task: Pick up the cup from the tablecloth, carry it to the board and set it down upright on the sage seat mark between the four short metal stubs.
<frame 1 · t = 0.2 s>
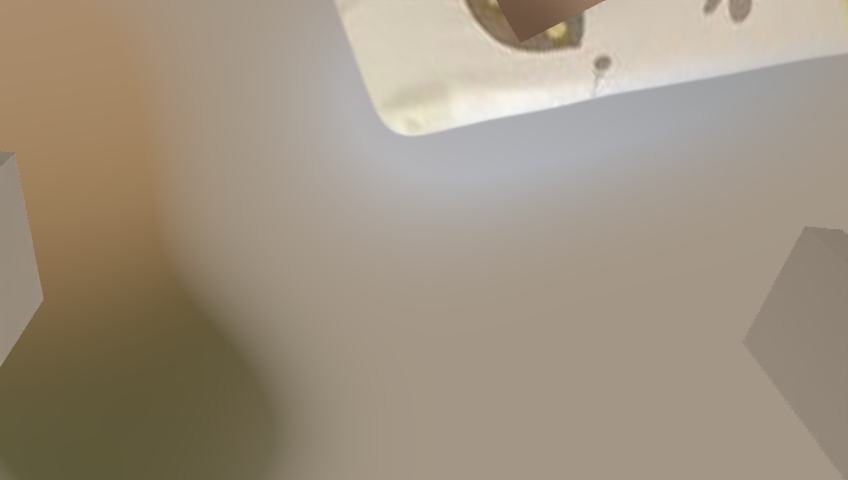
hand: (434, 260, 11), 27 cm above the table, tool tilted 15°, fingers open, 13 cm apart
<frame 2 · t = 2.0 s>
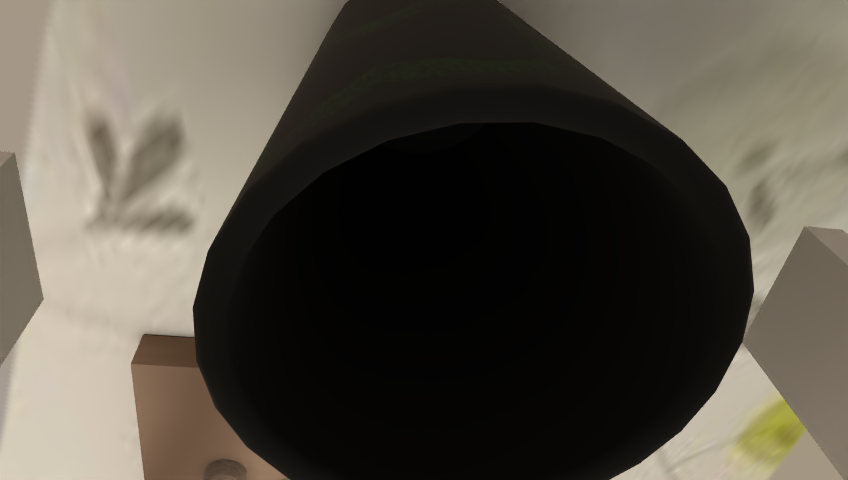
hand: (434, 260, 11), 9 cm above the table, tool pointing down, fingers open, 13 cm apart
cup: (419, 67, 19), on the table
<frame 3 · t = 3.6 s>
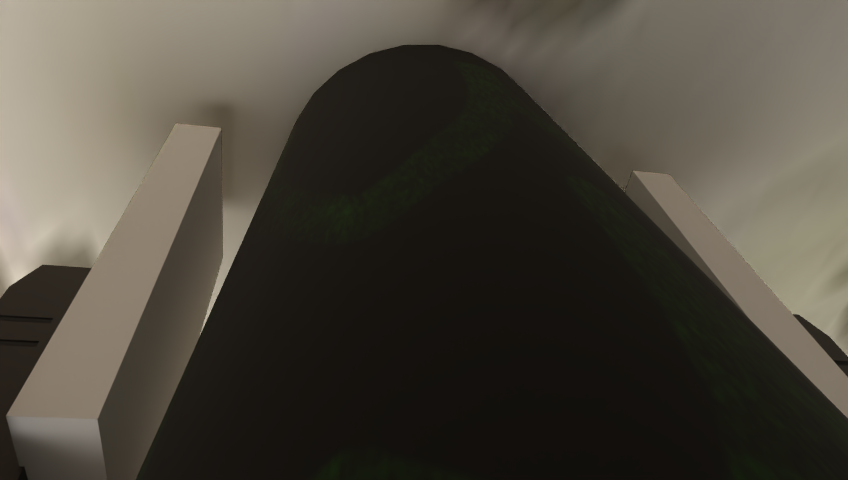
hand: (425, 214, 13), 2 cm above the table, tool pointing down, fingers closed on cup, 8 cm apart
cup: (418, 170, 14), on the table, touching gripper
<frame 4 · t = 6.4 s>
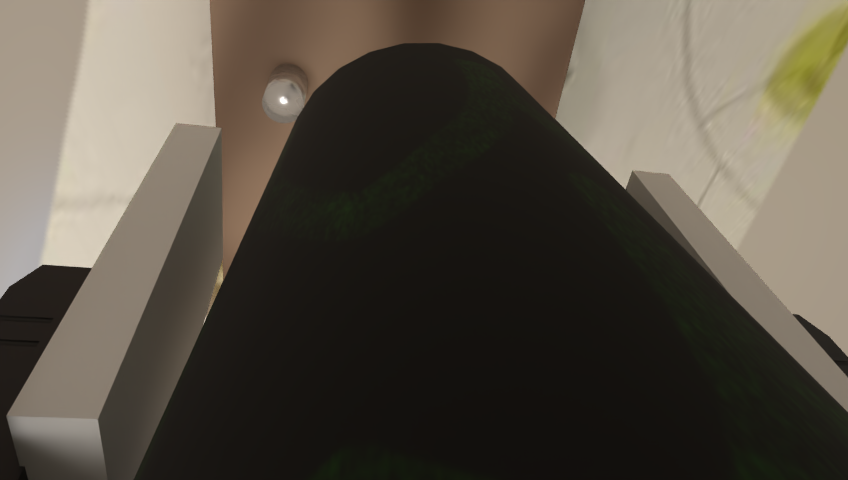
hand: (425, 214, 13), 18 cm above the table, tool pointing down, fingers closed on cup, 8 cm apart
stub board: (381, 165, 32), on the table
cup: (418, 168, 14), point 16 cm above the table, touching gripper
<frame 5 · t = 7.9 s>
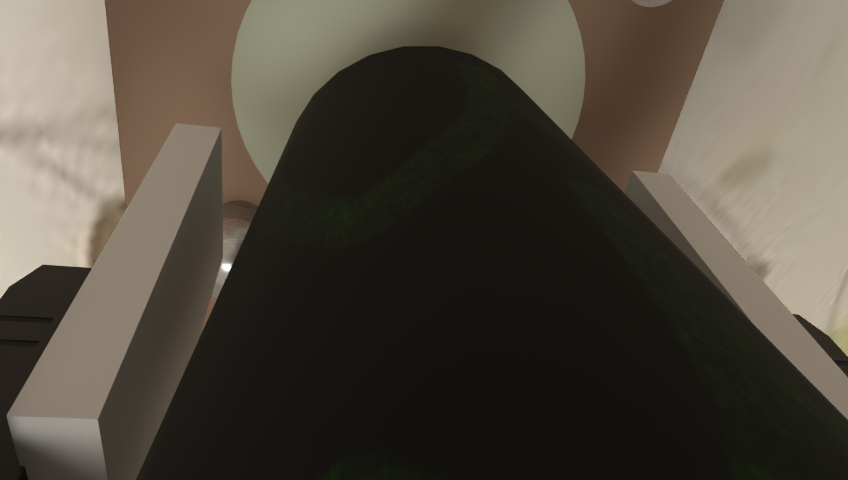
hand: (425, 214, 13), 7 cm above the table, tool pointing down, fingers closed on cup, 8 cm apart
stub board: (407, 79, 19), on the table
cup: (418, 171, 14), point 5 cm above the table, touching gripper
when the fingers open (4 cm above the table, at t = 9.3 s): cup stays where it is, resting on stub board.
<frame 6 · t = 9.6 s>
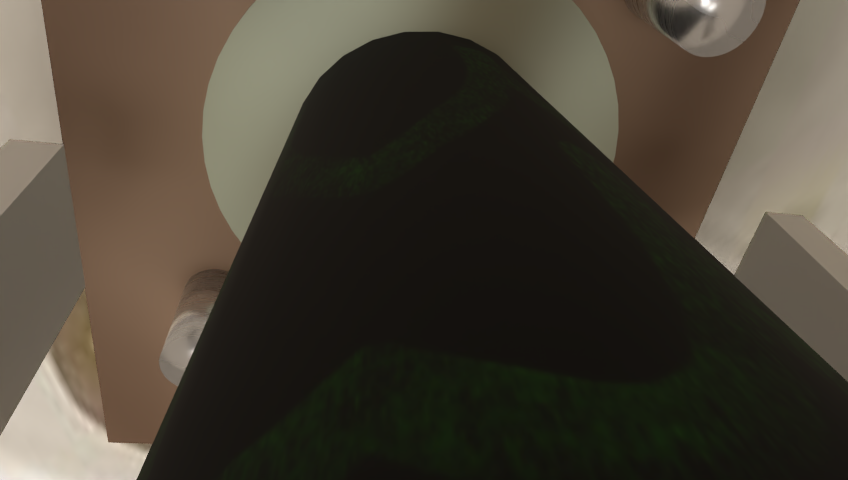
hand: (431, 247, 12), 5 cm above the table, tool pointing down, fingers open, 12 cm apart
stub board: (410, 128, 16), on the table
cup: (418, 153, 15), point 2 cm above the table, touching stub board
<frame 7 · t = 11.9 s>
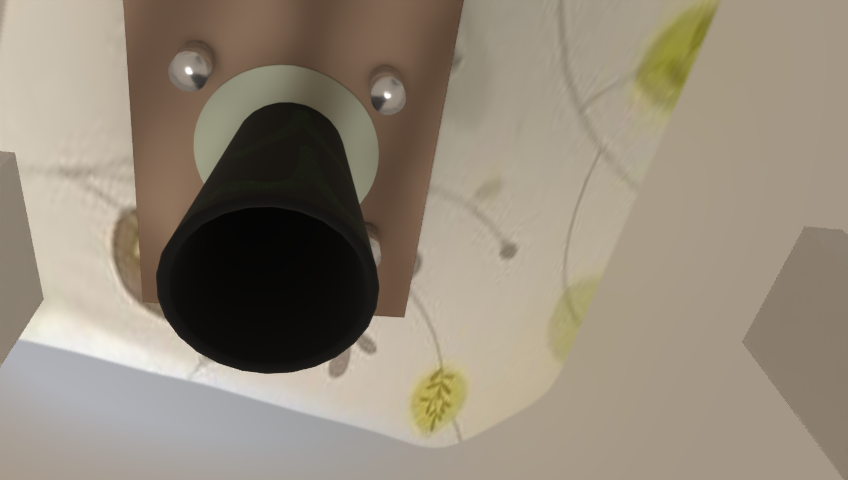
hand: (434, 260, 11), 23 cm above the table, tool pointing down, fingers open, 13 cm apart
stub board: (290, 142, 35), on the table
cup: (289, 153, 33), point 2 cm above the table, touching stub board
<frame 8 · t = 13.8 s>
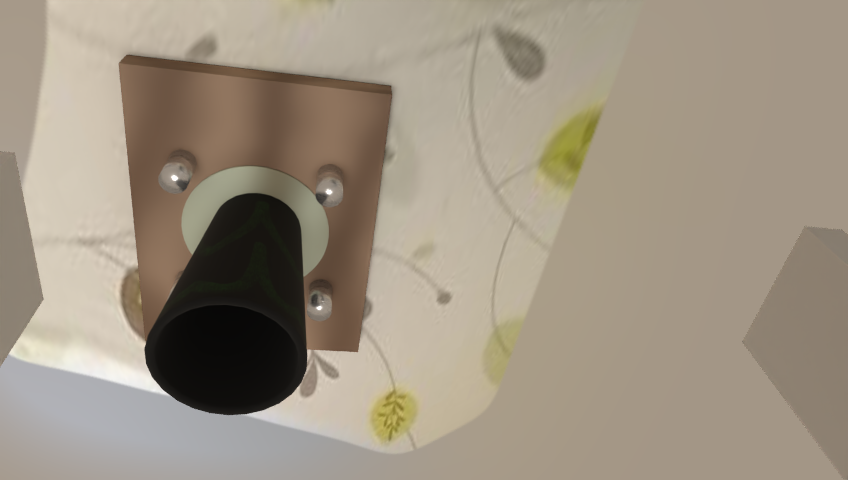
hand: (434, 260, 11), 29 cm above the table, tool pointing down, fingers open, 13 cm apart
stub board: (259, 217, 43), on the table
cup: (257, 229, 42), point 2 cm above the table, touching stub board
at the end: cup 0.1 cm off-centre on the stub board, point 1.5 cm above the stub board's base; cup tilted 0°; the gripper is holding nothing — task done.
